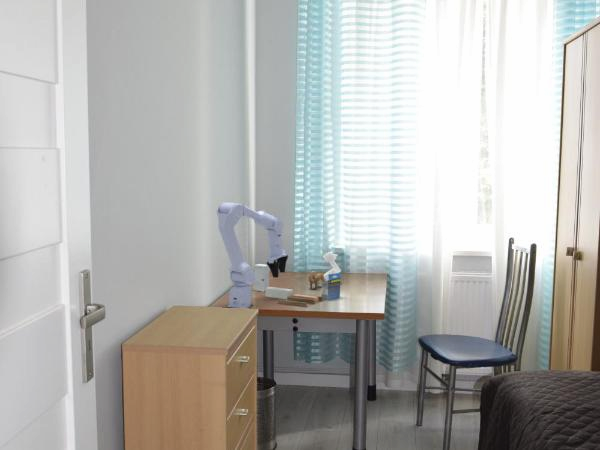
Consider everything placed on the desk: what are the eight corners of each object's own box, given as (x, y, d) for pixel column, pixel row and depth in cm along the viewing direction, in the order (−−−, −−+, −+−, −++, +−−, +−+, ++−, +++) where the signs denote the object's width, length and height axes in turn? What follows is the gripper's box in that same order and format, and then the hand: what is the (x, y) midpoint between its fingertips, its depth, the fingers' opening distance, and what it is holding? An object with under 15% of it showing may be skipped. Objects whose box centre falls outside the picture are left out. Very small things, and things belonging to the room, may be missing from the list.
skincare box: (253, 290, 336) (253, 264, 334) (259, 289, 339) (259, 263, 338) (263, 292, 332) (264, 265, 331) (269, 290, 336) (269, 264, 335)
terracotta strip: (315, 302, 304) (315, 297, 304) (292, 299, 310) (292, 295, 309) (318, 301, 307) (318, 296, 307) (295, 298, 312) (295, 294, 312)
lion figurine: (316, 291, 336) (316, 272, 336) (305, 290, 338) (306, 271, 338) (327, 286, 350) (327, 267, 349) (317, 285, 352) (317, 266, 351)
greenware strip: (289, 302, 310) (289, 290, 310) (265, 299, 316) (265, 288, 316) (293, 300, 313) (293, 289, 313) (269, 297, 319) (269, 286, 319)
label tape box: (333, 298, 319) (333, 271, 317) (340, 299, 316) (340, 272, 315) (320, 301, 312) (321, 273, 311) (328, 302, 309) (328, 274, 308)
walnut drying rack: (305, 309, 294) (306, 303, 294) (276, 306, 301) (276, 299, 301) (324, 302, 309) (325, 296, 309) (296, 299, 316) (296, 293, 316)
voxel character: (351, 274, 353) (333, 249, 352) (331, 288, 354) (313, 263, 353) (351, 272, 360) (333, 248, 359) (331, 285, 361) (314, 261, 360)
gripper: (278, 248, 304) (281, 279, 306) (290, 240, 317) (293, 270, 320) (262, 248, 306) (266, 279, 309) (275, 240, 319) (278, 270, 322)
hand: (279, 274), depth 314 cm, fingers open, 7 cm apart
